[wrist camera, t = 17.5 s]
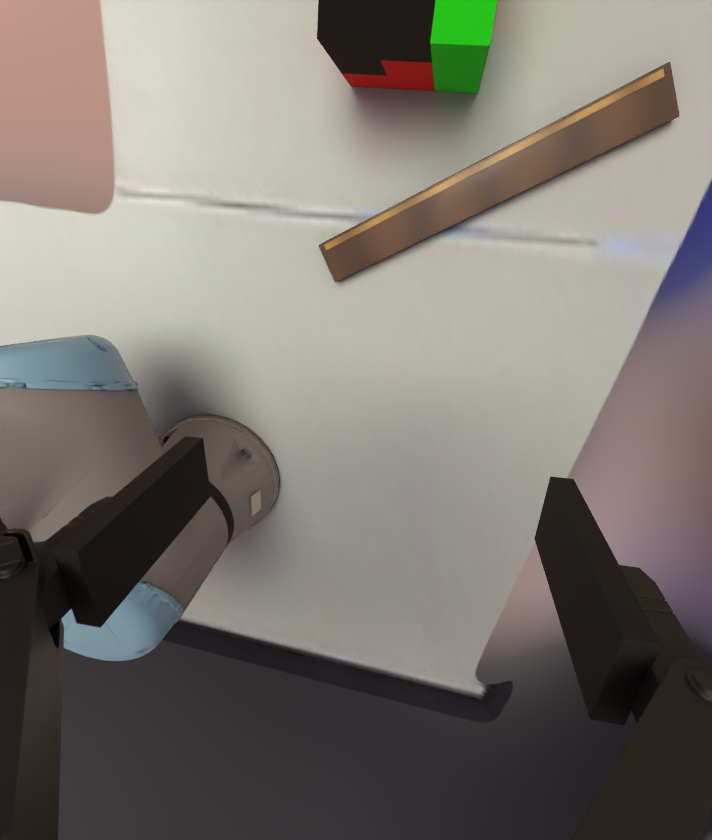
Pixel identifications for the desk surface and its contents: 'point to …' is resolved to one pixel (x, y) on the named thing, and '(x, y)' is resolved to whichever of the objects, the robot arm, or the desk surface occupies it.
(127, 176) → the desk surface
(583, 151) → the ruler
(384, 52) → the puzzle toy
